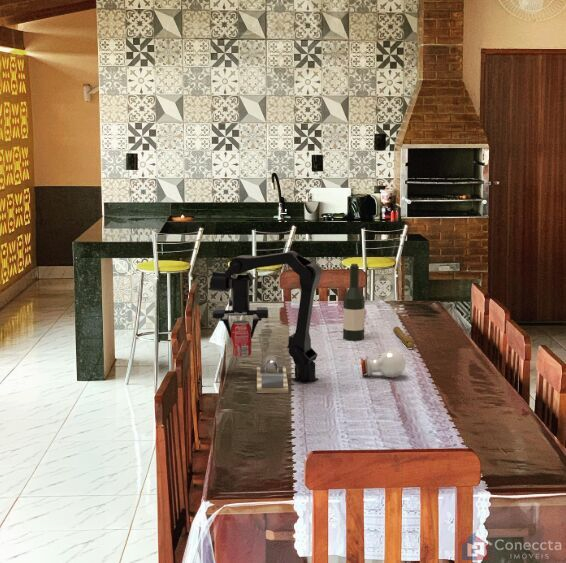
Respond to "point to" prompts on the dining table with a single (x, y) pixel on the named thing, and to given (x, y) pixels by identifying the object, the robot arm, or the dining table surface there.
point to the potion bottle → (385, 364)
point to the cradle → (272, 380)
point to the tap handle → (404, 337)
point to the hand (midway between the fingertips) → (241, 337)
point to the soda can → (241, 339)
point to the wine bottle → (353, 308)
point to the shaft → (271, 364)
